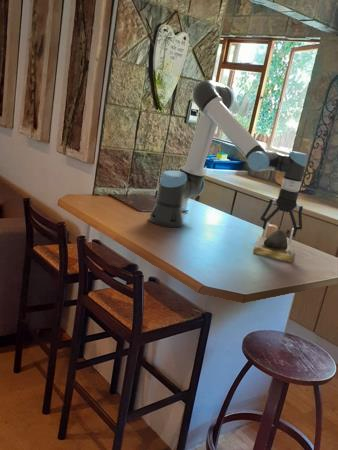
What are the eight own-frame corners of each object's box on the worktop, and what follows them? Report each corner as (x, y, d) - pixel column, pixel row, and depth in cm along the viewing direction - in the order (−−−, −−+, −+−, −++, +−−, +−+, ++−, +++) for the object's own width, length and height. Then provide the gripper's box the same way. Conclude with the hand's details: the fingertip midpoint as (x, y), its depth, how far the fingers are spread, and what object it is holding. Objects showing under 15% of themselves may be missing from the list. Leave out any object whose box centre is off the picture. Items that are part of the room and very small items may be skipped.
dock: (253, 252, 183) (254, 246, 182) (257, 241, 200) (258, 236, 199) (291, 262, 179) (293, 256, 178) (293, 250, 196) (294, 245, 195)
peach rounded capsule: (260, 239, 204) (264, 225, 202) (261, 236, 210) (265, 222, 208) (273, 242, 203) (277, 228, 201) (274, 239, 208) (278, 225, 206)
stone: (274, 259, 183) (295, 246, 182) (263, 243, 182) (284, 229, 181) (269, 253, 193) (289, 241, 192) (259, 237, 192) (279, 225, 190)
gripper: (261, 184, 181) (249, 235, 187) (318, 197, 176) (303, 249, 182) (263, 182, 188) (251, 231, 194) (317, 194, 183) (303, 244, 189)
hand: (276, 240), depth 188 cm, fingers open, 10 cm apart
